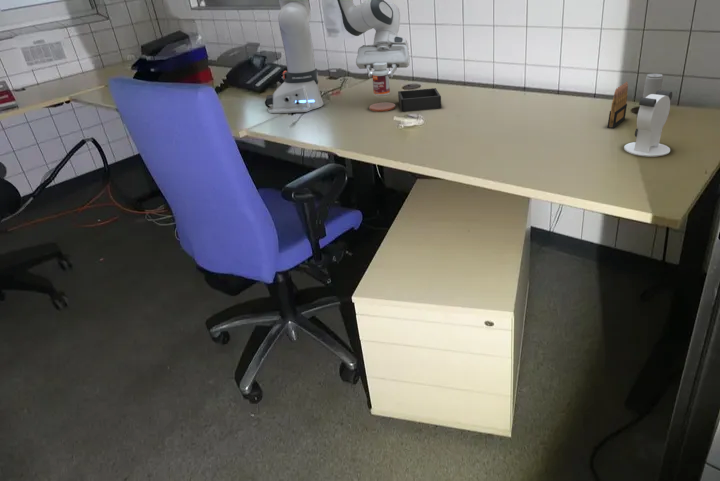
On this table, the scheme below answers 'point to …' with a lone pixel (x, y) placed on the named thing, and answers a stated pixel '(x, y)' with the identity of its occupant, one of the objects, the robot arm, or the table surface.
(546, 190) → the table surface
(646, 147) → the white disc-based upright fixture
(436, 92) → the black box
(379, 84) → the pill bottle
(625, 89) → the brown panel in holder
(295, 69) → the robot arm
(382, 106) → the coaster
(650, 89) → the beverage can
